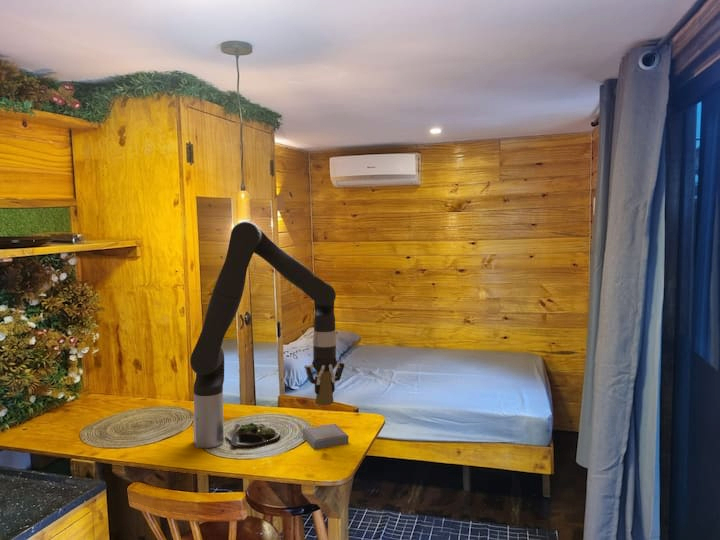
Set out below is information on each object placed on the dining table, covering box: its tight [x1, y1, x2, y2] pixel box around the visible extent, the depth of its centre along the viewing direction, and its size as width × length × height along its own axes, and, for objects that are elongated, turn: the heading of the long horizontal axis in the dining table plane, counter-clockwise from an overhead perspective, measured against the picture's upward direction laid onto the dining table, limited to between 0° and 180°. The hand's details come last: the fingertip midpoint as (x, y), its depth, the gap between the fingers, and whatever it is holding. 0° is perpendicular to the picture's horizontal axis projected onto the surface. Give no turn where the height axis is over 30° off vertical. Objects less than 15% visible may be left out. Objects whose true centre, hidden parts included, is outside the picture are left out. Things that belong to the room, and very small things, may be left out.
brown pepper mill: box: [315, 371, 334, 406], centre depth 182 cm, size 6×6×11 cm
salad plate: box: [225, 422, 281, 449], centre depth 186 cm, size 19×18×5 cm
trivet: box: [301, 423, 349, 450], centre depth 183 cm, size 12×12×3 cm
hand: (324, 393), depth 182 cm, fingers closed on brown pepper mill, 4 cm apart
